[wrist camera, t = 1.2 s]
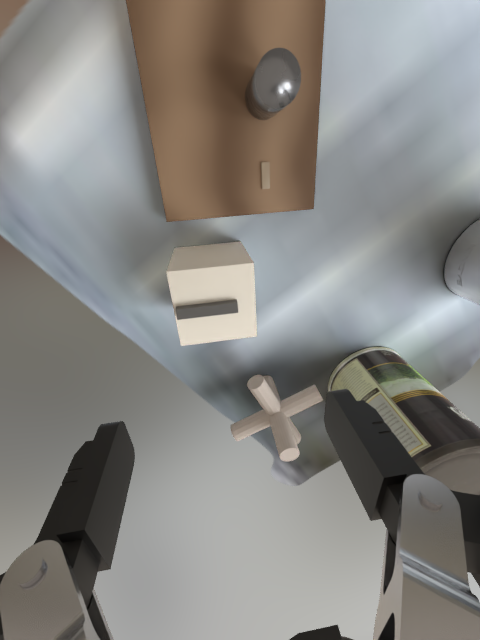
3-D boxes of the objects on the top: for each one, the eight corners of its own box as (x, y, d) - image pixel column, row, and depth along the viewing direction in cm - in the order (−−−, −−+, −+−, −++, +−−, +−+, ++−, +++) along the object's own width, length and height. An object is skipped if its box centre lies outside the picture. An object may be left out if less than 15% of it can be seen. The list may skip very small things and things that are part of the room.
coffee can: (391, 330, 32) (510, 427, 20) (411, 384, 37) (517, 489, 25) (313, 373, 34) (379, 487, 21) (342, 419, 39) (410, 535, 26)
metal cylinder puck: (282, 71, 18) (302, 46, 15) (282, 119, 20) (300, 106, 16) (243, 72, 18) (254, 48, 15) (246, 121, 19) (256, 109, 16)
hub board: (314, -4, 18) (328, -25, 16) (305, 206, 24) (314, 209, 23) (130, 0, 17) (121, -21, 15) (169, 218, 23) (166, 222, 22)
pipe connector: (209, 372, 32) (213, 447, 23) (286, 332, 30) (322, 396, 22) (248, 422, 36) (263, 501, 28) (316, 389, 35) (355, 460, 26)
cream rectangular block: (240, 241, 25) (255, 265, 18) (244, 300, 28) (258, 340, 21) (174, 247, 25) (165, 274, 18) (185, 307, 27) (180, 350, 21)
